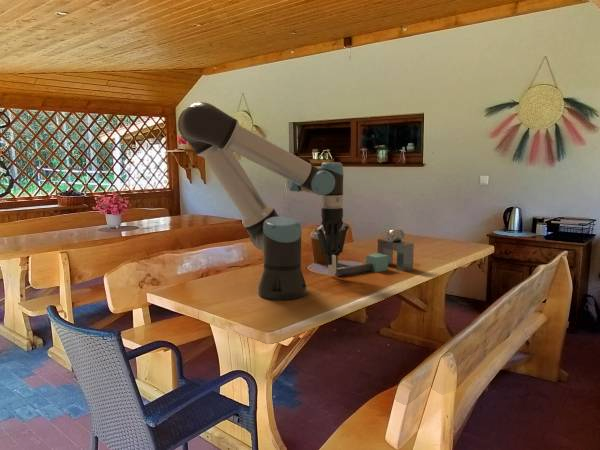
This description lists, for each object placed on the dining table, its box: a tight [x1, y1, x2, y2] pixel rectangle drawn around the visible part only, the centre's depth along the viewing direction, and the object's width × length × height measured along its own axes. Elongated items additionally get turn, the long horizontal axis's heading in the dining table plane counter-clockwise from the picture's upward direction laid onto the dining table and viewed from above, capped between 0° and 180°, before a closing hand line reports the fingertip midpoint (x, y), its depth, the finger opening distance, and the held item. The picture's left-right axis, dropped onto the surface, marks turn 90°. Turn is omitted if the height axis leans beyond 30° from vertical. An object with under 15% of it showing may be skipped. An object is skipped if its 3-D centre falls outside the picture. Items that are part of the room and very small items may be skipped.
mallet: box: [334, 253, 389, 277], centre depth 181 cm, size 22×6×6 cm, turn 122°
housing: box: [376, 228, 415, 272], centre depth 189 cm, size 5×14×14 cm, turn 32°
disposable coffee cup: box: [309, 230, 327, 264], centre depth 197 cm, size 10×10×12 cm
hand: (332, 273), depth 174 cm, fingers closed
